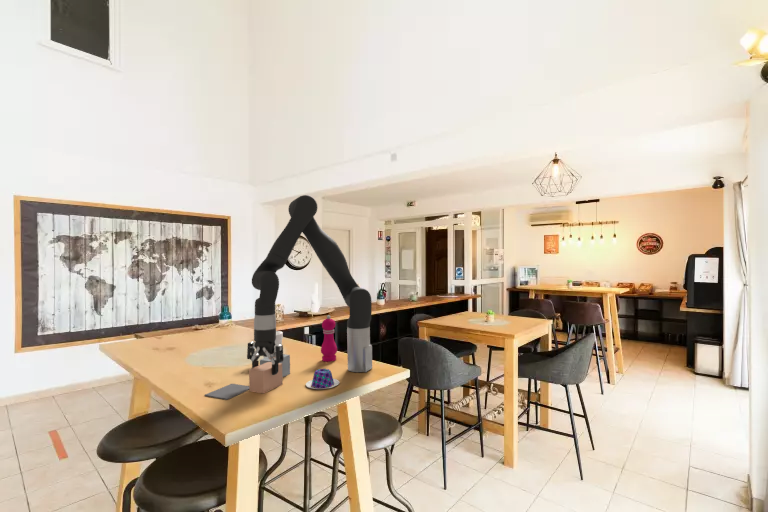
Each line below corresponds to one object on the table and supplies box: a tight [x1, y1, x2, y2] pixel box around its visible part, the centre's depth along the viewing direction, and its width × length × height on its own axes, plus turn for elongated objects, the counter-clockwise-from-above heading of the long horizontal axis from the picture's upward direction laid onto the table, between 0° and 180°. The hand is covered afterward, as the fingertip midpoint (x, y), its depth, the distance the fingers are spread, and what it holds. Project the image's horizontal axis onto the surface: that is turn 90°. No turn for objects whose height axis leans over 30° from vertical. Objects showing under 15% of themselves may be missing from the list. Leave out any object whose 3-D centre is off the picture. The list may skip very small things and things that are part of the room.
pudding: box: [305, 368, 340, 390], centre depth 136 cm, size 12×12×5 cm
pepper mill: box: [320, 314, 338, 363], centre depth 169 cm, size 7×7×20 cm
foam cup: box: [262, 330, 284, 359], centre depth 165 cm, size 10×9×13 cm
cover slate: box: [259, 353, 291, 378], centre depth 146 cm, size 6×10×8 cm, turn 157°
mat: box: [204, 383, 249, 401], centre depth 130 cm, size 10×12×1 cm
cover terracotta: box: [248, 362, 283, 394], centre depth 134 cm, size 6×10×8 cm, turn 157°
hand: (265, 372), depth 134 cm, fingers open, 8 cm apart
